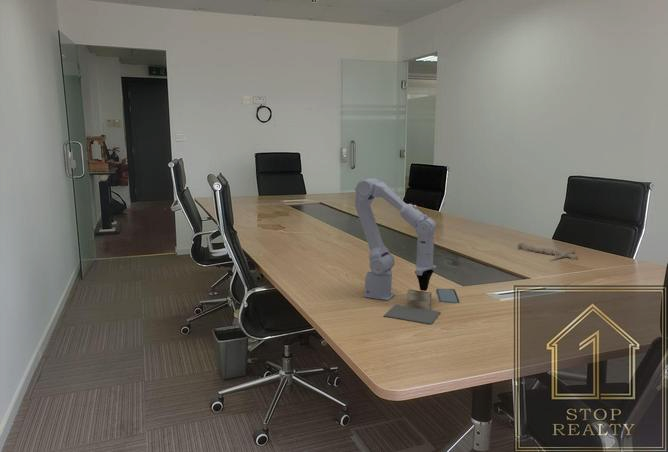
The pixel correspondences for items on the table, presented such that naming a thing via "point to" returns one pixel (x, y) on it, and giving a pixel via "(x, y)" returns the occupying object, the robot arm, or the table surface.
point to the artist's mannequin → (549, 251)
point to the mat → (412, 314)
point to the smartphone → (447, 295)
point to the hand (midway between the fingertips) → (423, 290)
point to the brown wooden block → (419, 299)
